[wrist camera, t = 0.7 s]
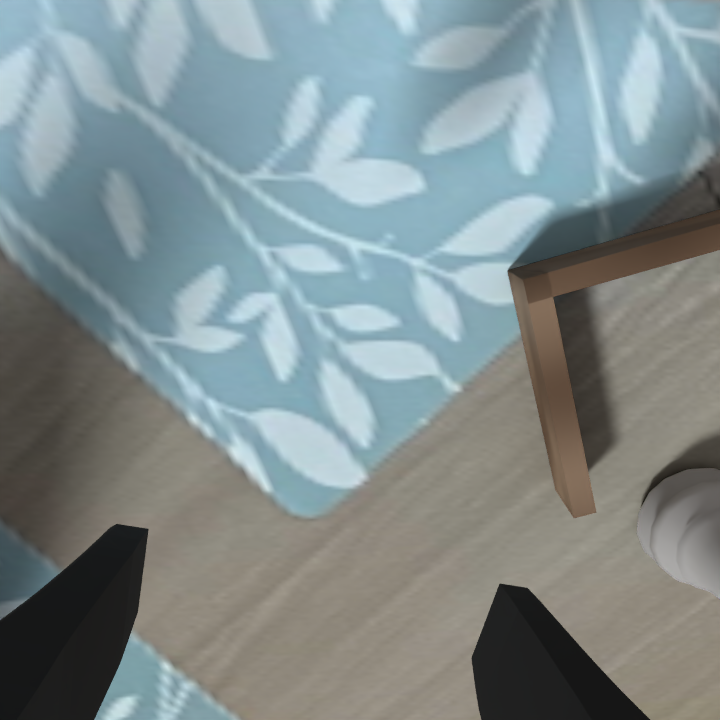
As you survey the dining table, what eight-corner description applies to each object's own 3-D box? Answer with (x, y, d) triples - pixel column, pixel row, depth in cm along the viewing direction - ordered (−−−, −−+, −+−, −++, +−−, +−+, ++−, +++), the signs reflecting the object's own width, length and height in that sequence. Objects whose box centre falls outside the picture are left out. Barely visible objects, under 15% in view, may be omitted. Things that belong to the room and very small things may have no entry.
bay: (808, 424, 22) (851, 447, 20) (555, 490, 23) (573, 518, 21) (789, 189, 20) (835, 190, 18) (507, 270, 21) (523, 279, 19)
